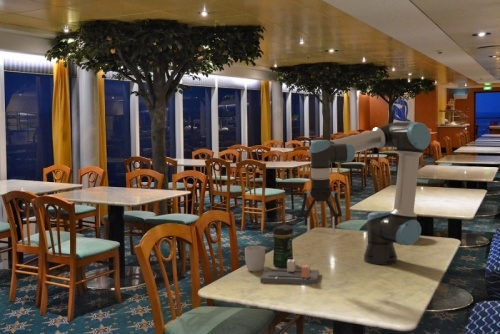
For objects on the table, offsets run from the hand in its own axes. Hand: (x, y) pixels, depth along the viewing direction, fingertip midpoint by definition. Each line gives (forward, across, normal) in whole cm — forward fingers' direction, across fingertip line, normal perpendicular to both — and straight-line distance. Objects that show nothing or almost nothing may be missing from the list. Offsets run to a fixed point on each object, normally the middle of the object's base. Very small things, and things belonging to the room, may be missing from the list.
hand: (321, 233), depth 224 cm
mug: (+21, +30, -17) cm, 40 cm away
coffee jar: (+21, +19, -24) cm, 37 cm away
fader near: (+18, +6, 0) cm, 19 cm away
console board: (+21, +14, -4) cm, 25 cm away
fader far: (+18, +14, -8) cm, 24 cm away
